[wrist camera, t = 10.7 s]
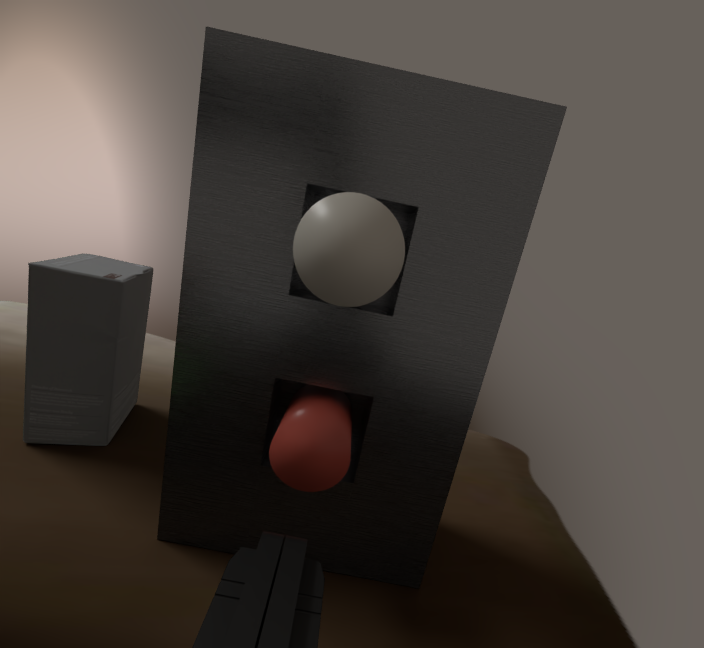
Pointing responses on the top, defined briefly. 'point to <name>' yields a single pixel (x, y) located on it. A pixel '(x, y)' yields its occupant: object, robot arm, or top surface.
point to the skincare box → (83, 347)
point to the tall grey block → (331, 320)
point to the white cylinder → (348, 249)
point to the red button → (313, 439)
